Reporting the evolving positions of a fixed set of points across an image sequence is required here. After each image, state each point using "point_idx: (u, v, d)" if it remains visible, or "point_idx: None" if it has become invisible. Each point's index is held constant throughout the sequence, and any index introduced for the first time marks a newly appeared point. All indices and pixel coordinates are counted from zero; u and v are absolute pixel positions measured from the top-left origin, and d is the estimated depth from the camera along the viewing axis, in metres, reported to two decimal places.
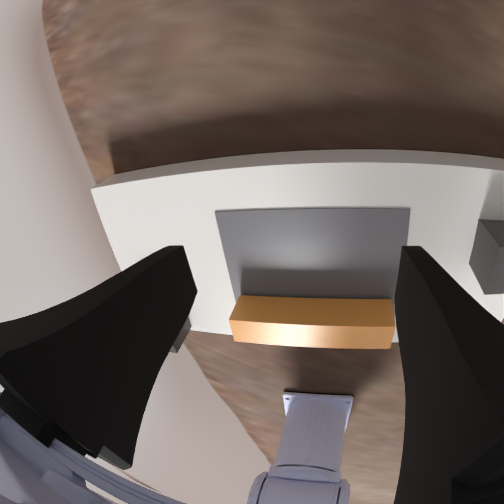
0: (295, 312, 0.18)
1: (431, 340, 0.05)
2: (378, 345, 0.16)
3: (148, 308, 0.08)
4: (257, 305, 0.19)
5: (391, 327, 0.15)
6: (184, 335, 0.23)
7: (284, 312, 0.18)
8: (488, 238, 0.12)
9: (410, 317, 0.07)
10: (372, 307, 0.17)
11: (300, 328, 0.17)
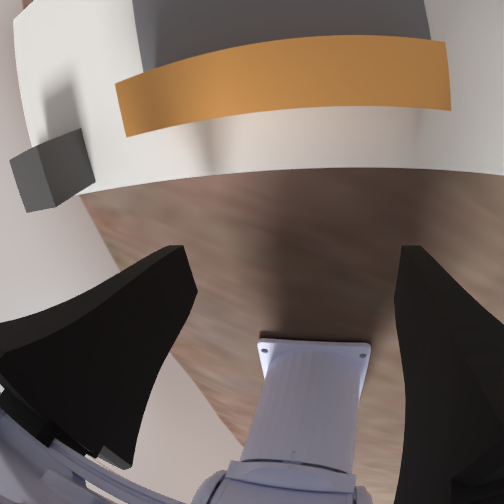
0: None
1: (431, 340, 0.05)
2: (425, 96, 0.06)
3: (148, 308, 0.08)
4: None
5: (437, 45, 0.05)
6: (77, 187, 0.12)
7: None
8: None
9: (410, 317, 0.07)
10: None
11: (243, 55, 0.07)
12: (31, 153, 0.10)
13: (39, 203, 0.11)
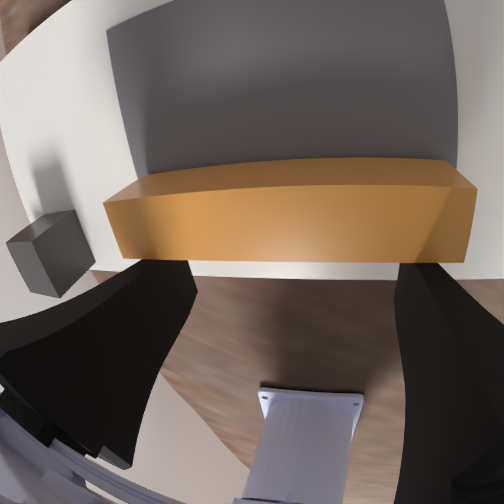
0: (236, 176, 0.08)
1: (431, 340, 0.05)
2: (439, 251, 0.06)
3: (148, 308, 0.08)
4: (164, 179, 0.09)
5: (468, 192, 0.05)
6: (78, 272, 0.13)
7: (212, 178, 0.08)
8: None
9: (410, 317, 0.07)
10: (412, 165, 0.07)
11: (243, 200, 0.07)
12: (27, 246, 0.10)
13: (42, 289, 0.12)
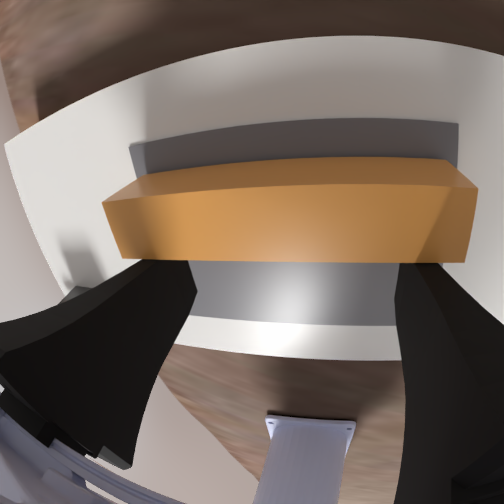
0: (235, 175, 0.08)
1: (431, 340, 0.05)
2: (440, 251, 0.06)
3: (148, 308, 0.08)
4: (164, 179, 0.09)
5: (469, 192, 0.05)
6: None
7: (211, 178, 0.08)
8: None
9: (410, 317, 0.07)
10: (413, 165, 0.07)
11: (243, 200, 0.07)
12: None
13: None
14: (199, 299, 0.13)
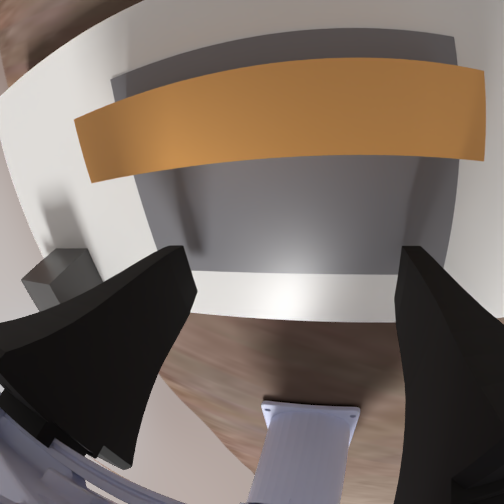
0: None
1: (431, 340, 0.05)
2: (454, 143, 0.05)
3: (148, 308, 0.08)
4: None
5: (474, 74, 0.04)
6: None
7: None
8: None
9: (410, 317, 0.07)
10: None
11: (220, 85, 0.05)
12: (44, 287, 0.11)
13: None
14: None
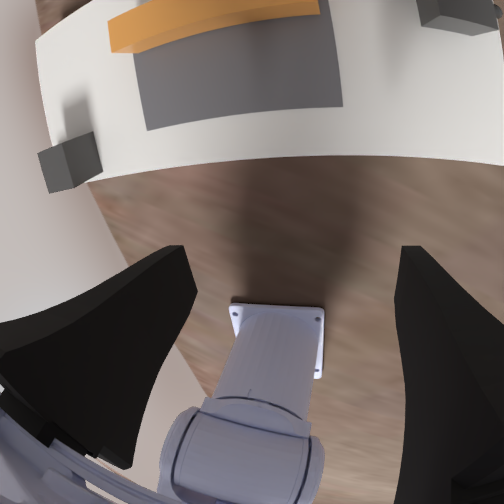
0: None
1: (431, 340, 0.05)
2: None
3: (148, 308, 0.08)
4: None
5: None
6: (90, 174, 0.17)
7: None
8: None
9: (410, 317, 0.07)
10: None
11: None
12: (57, 148, 0.14)
13: (60, 185, 0.16)
14: (160, 110, 0.15)
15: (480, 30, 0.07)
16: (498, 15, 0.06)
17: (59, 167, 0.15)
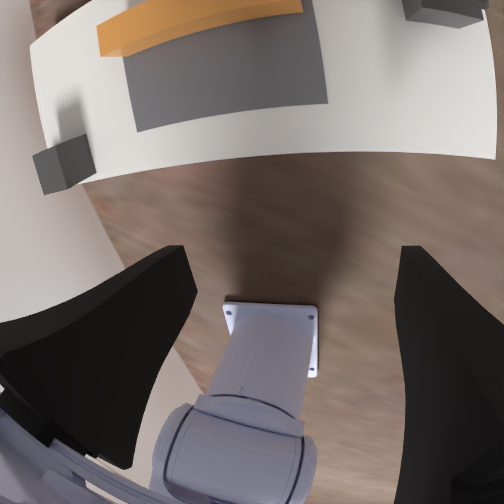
0: None
1: (431, 340, 0.05)
2: None
3: (148, 308, 0.08)
4: None
5: None
6: (83, 176, 0.17)
7: None
8: None
9: (410, 317, 0.07)
10: None
11: None
12: (50, 151, 0.15)
13: (55, 187, 0.16)
14: (149, 111, 0.15)
15: (465, 21, 0.07)
16: (484, 6, 0.06)
17: (53, 169, 0.15)
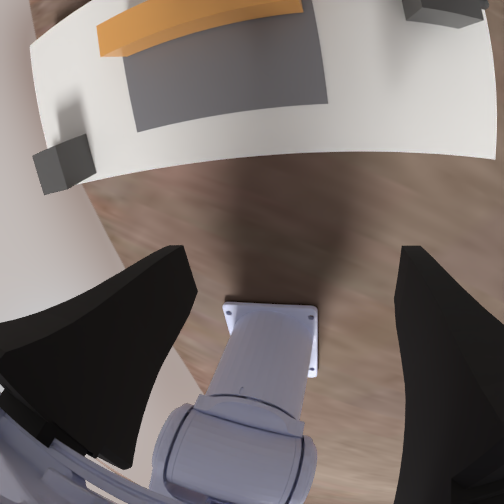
0: None
1: (431, 340, 0.05)
2: None
3: (148, 308, 0.08)
4: None
5: None
6: (83, 176, 0.17)
7: None
8: None
9: (410, 317, 0.07)
10: None
11: None
12: (50, 151, 0.15)
13: (55, 187, 0.16)
14: (149, 111, 0.15)
15: (465, 21, 0.07)
16: (484, 6, 0.06)
17: (53, 169, 0.15)
